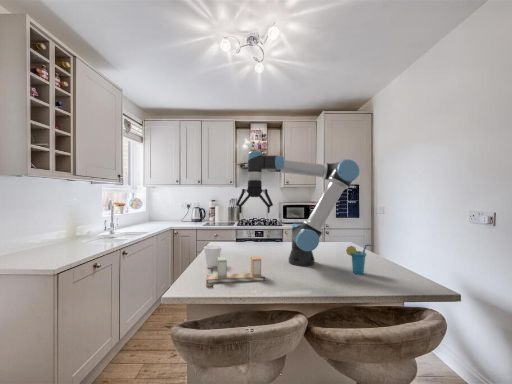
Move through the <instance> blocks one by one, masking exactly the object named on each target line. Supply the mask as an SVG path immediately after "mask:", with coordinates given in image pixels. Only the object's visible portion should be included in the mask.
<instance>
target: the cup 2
mask: <svg viewBox="0 0 512 384" xmlns="http://www.w3.org/2000/svg"><path fill="white" fill-rule="evenodd" d="M367 247H370V248H371V247H374V246H373V244H369V243H368V244H365V245H364V247H363V249H362V250H361V251H359V250H357V249H356V247H355V246H353V245H350V246H347V247H346V250H345V251H346V253H347V255H349V256H350V257H351V264H352V265H351V266H352V273H354V275H357V274H359V275H358V276H361V275H362V274H363V275H364V273H365V263H366V257H367V253H366V252H365V251H366V248H367Z"/></svg>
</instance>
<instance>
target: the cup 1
mask: <svg viewBox="0 0 512 384" xmlns="http://www.w3.org/2000/svg"><path fill="white" fill-rule="evenodd" d="M222 249H223V246H221V245H217V244H212V245H210V244H209V245H206V246H203V250H204V254H205V255H204V256H205V262H206V267H207V268H208V269H213V267H218V257H221V252H222Z"/></svg>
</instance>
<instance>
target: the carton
mask: <svg viewBox="0 0 512 384" xmlns="http://www.w3.org/2000/svg"><path fill="white" fill-rule="evenodd" d="M227 264H228V259H227V256H220V257H218V266H217V274H216V275H217V277H218V279H224V278H227V274H228V273H227V272H228V271H227V270H228V269H227V268H228V267H227V266H228V265H227Z"/></svg>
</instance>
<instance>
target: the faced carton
mask: <svg viewBox="0 0 512 384" xmlns="http://www.w3.org/2000/svg"><path fill="white" fill-rule="evenodd" d="M250 273H251V277H261V276H262V258H261V257H260V256H259V255H252V256H251V255H250Z"/></svg>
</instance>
